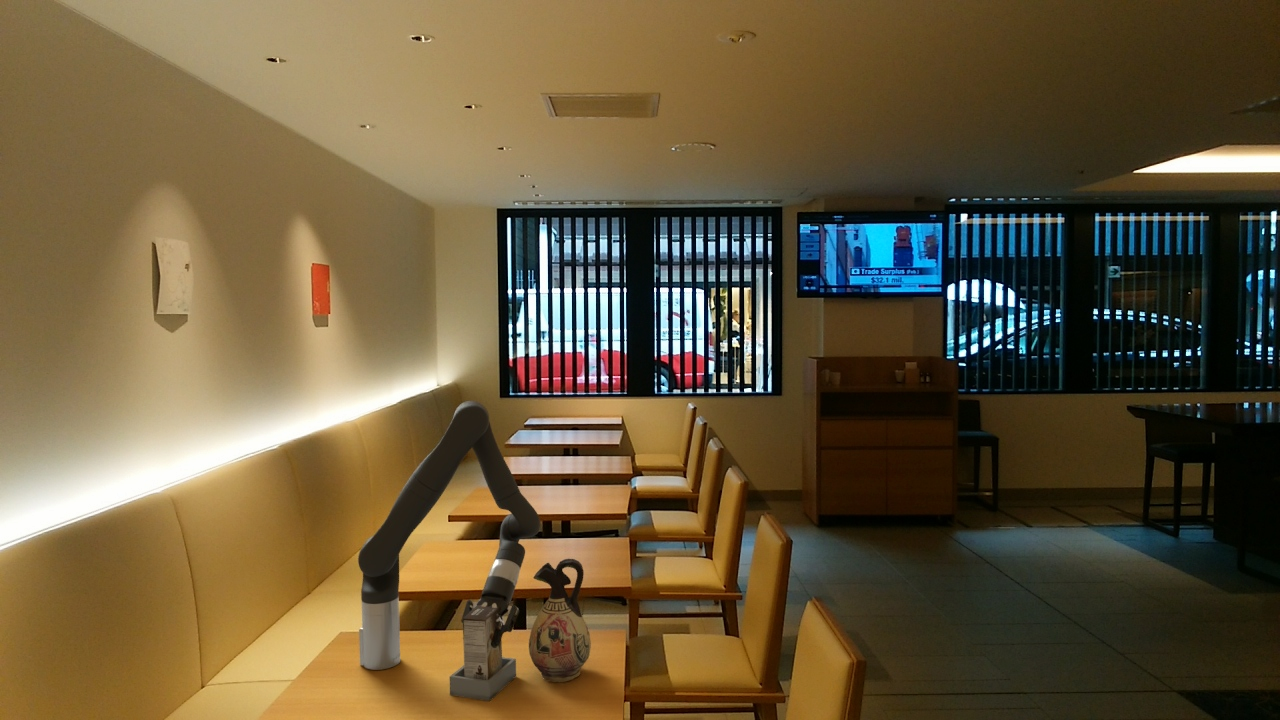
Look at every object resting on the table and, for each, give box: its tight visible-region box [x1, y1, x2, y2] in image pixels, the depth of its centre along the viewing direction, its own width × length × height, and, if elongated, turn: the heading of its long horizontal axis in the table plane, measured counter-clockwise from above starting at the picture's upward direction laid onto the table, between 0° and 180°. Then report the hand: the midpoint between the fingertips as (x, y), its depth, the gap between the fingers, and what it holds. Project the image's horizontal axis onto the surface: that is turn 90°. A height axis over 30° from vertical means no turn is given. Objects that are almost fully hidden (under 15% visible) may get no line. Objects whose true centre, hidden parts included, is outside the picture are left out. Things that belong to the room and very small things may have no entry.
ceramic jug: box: [528, 558, 592, 683], centre depth 204 cm, size 17×15×30 cm
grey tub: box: [449, 656, 517, 702], centre depth 199 cm, size 11×14×4 cm
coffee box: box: [462, 605, 503, 680], centre depth 199 cm, size 9×6×16 cm
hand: (479, 644), depth 197 cm, fingers closed on coffee box, 6 cm apart
